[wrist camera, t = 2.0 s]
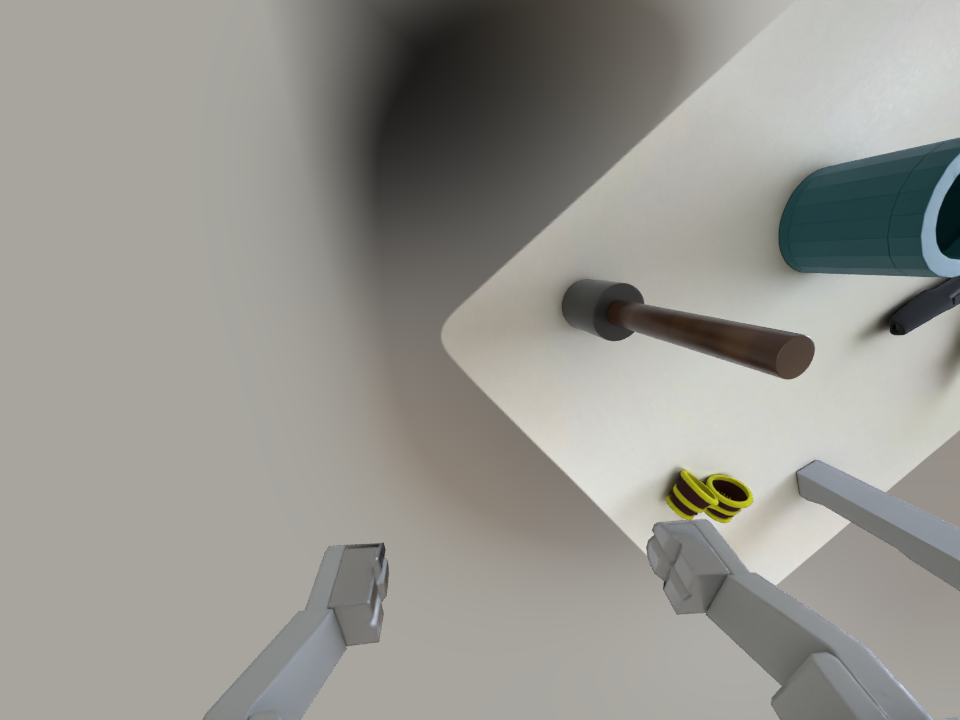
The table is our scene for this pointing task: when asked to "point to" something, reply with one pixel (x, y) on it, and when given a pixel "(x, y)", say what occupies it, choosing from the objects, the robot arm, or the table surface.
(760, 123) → the table surface
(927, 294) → the electric trimmer
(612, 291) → the brush
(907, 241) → the cup
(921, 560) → the vintage mobile phone
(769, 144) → the table surface
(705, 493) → the opera glasses
